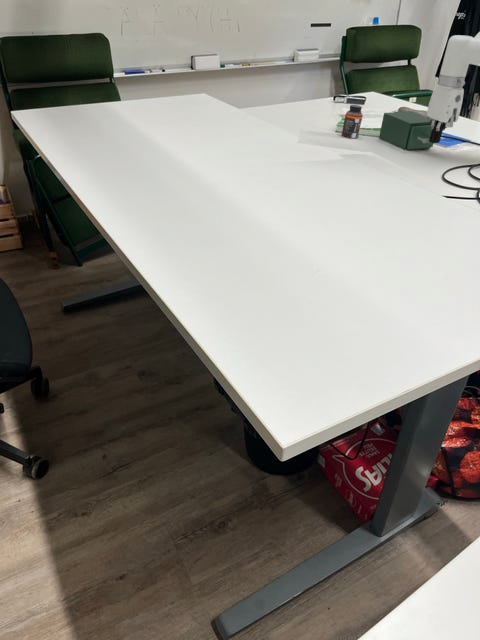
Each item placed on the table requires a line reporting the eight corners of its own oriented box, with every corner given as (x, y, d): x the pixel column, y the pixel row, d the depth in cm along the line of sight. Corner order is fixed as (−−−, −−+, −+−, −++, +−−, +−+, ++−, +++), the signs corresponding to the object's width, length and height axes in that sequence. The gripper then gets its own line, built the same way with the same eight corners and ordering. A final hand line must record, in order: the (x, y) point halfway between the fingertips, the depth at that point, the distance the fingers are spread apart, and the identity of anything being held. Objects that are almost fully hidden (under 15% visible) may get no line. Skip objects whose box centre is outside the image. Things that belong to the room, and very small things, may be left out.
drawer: (441, 150, 164) (447, 128, 160) (417, 153, 160) (422, 130, 156) (407, 136, 177) (412, 115, 173) (384, 138, 173) (389, 117, 169)
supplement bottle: (357, 142, 171) (365, 108, 165) (340, 139, 172) (347, 106, 165) (356, 138, 176) (364, 105, 170) (340, 136, 176) (347, 103, 170)
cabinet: (430, 148, 169) (437, 121, 163) (404, 151, 165) (410, 123, 160) (404, 136, 179) (410, 111, 174) (378, 139, 176) (383, 112, 170)
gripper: (477, 86, 144) (458, 148, 155) (443, 76, 155) (427, 135, 166) (459, 87, 142) (440, 150, 152) (424, 77, 152) (410, 136, 163)
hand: (434, 142), depth 159 cm, fingers closed
